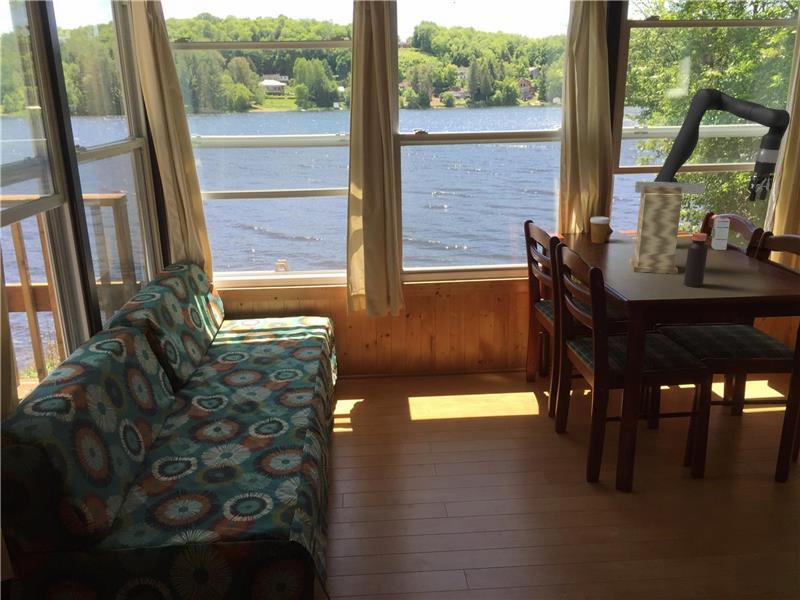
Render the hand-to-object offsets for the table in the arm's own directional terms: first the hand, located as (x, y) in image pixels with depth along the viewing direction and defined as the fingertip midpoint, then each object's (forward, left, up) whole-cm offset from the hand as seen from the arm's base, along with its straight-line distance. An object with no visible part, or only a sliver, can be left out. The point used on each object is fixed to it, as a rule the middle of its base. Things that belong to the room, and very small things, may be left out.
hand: (756, 200), depth 272 cm
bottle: (+4, -43, -28) cm, 52 cm away
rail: (-19, -33, +4) cm, 38 cm away
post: (-21, -35, -28) cm, 49 cm away
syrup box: (-26, +22, -28) cm, 44 cm away
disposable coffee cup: (-68, -13, -28) cm, 75 cm away
